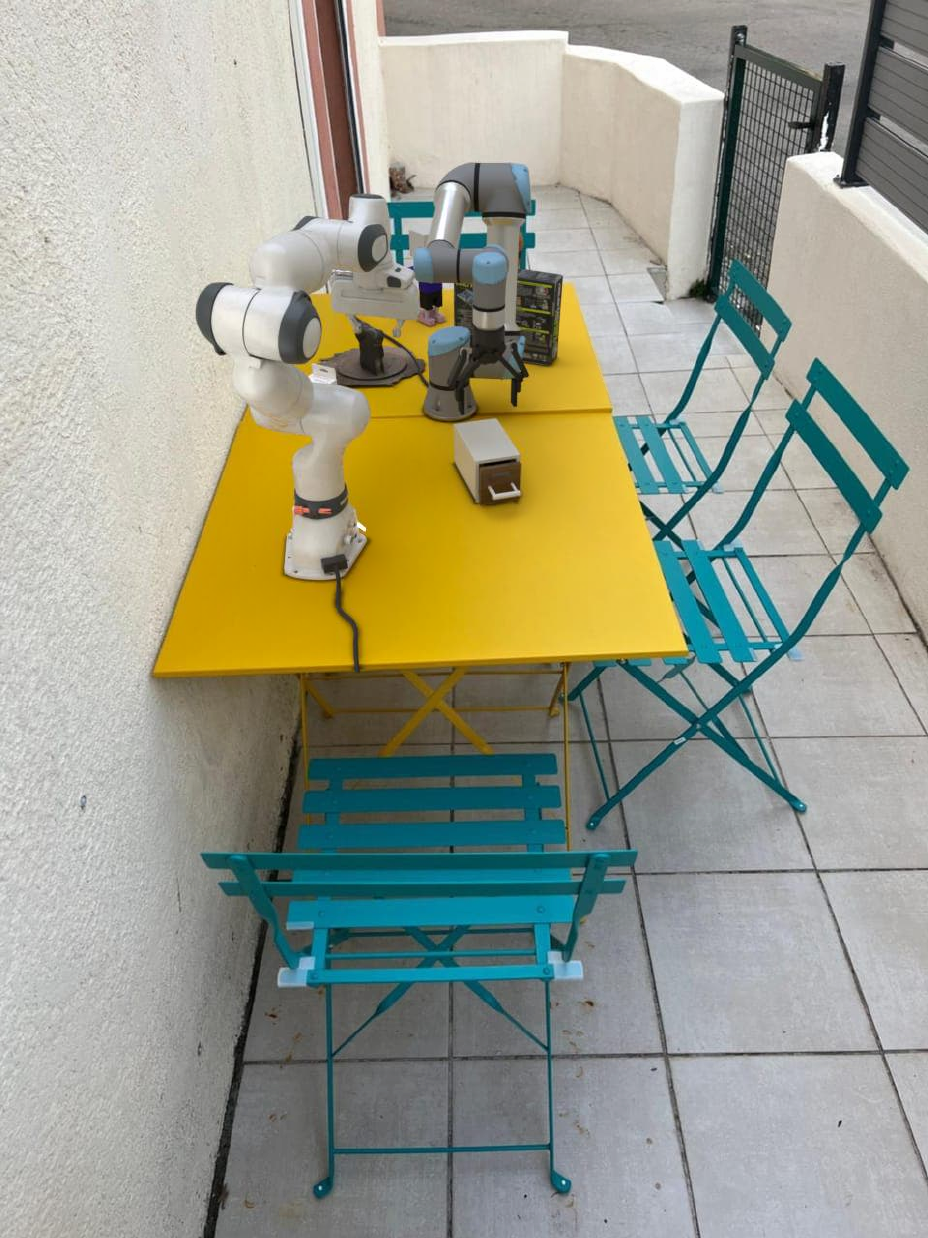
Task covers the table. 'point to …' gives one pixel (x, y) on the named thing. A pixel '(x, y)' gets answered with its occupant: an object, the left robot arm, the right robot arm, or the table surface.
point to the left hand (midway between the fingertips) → (377, 334)
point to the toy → (427, 291)
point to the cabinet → (480, 450)
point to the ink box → (323, 375)
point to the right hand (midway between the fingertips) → (487, 408)
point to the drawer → (499, 481)
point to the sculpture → (372, 361)
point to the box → (525, 312)
